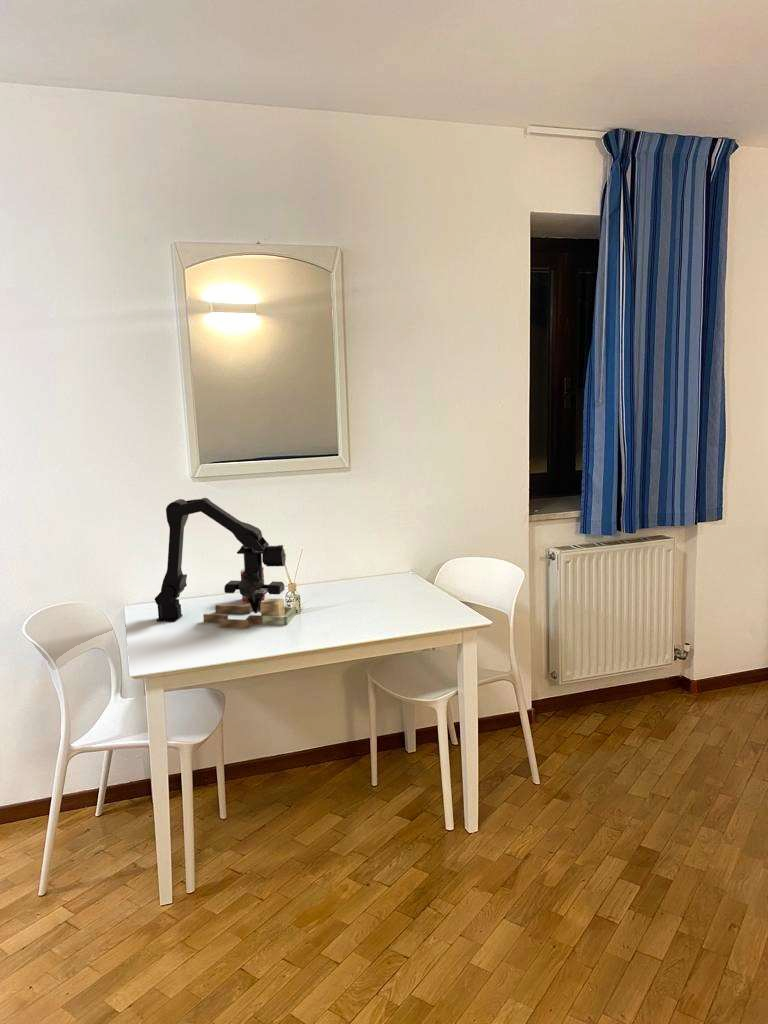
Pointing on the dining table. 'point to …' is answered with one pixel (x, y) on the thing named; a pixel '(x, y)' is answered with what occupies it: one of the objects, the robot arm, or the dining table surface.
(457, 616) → the dining table surface
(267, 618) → the channel
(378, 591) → the dining table surface
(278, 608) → the block
